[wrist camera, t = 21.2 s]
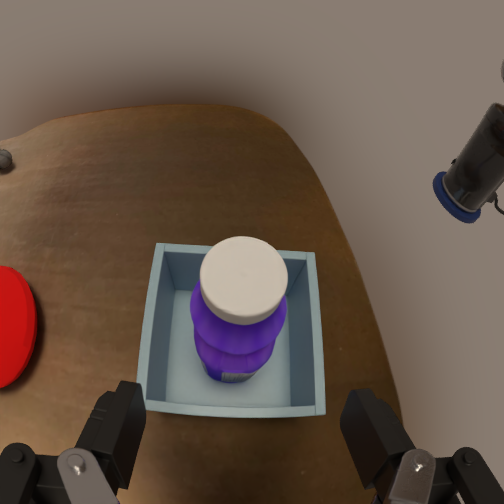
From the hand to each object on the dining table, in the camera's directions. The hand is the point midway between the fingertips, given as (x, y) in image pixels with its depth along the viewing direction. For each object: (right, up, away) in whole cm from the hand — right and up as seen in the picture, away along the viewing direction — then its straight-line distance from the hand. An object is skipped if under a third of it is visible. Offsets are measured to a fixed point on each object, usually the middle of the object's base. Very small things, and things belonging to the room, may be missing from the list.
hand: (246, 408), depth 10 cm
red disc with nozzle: (-31, -4, +16) cm, 35 cm away
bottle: (-2, -4, +18) cm, 19 cm away
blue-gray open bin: (-2, -4, +19) cm, 20 cm away
